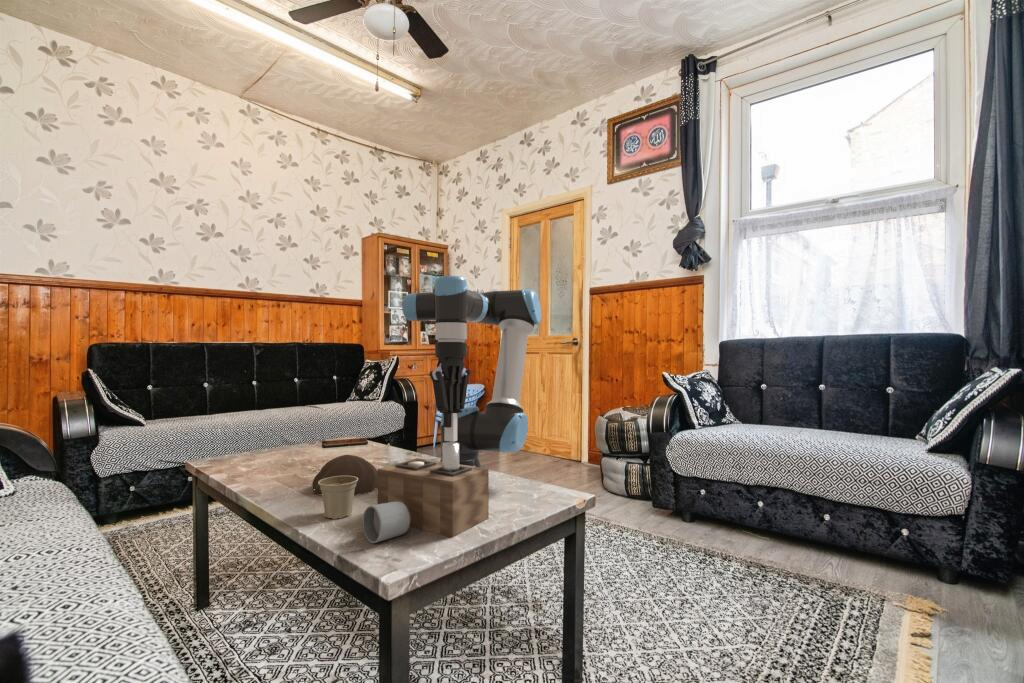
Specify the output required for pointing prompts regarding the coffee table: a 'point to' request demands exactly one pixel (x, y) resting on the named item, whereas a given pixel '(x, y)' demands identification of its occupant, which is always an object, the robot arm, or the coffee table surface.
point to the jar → (466, 460)
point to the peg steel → (450, 457)
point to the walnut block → (437, 495)
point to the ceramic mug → (385, 521)
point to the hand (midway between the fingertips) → (450, 440)
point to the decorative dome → (349, 473)
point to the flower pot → (338, 495)
